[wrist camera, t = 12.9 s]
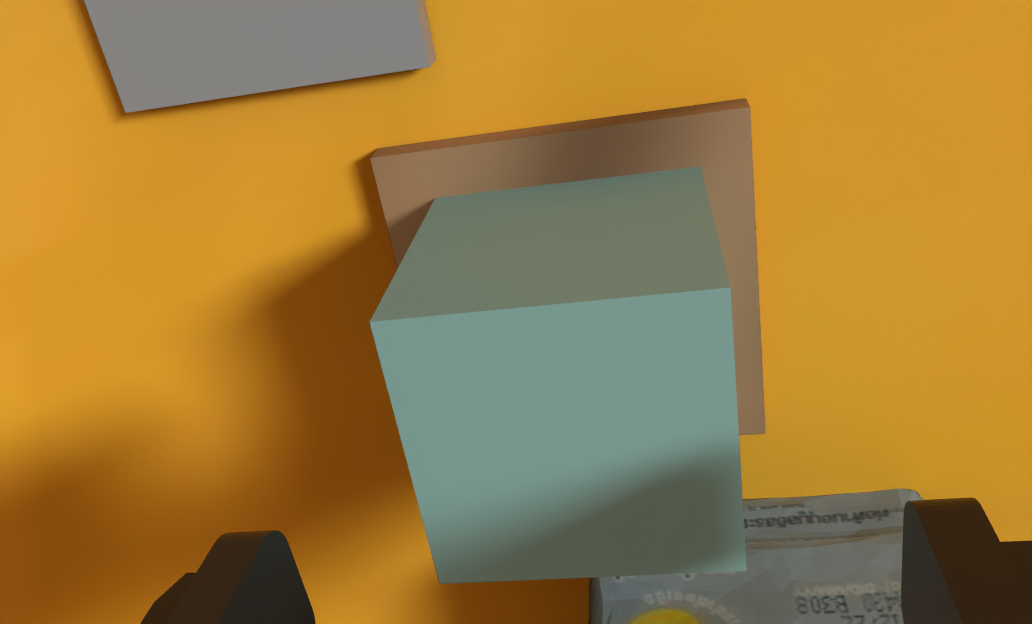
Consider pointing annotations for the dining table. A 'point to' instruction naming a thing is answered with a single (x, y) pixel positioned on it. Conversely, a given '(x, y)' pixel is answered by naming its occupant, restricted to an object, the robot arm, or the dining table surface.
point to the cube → (569, 381)
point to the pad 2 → (600, 154)
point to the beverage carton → (782, 569)
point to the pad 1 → (252, 45)
